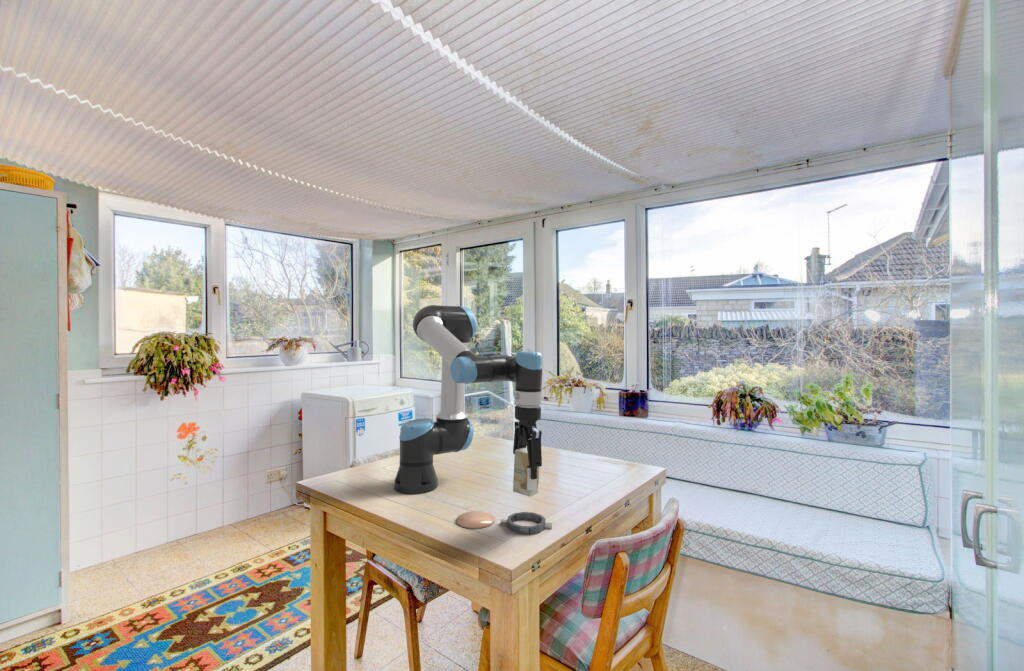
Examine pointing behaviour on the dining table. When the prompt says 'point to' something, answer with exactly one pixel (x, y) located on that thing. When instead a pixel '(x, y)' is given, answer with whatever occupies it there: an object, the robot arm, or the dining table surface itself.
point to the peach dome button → (475, 520)
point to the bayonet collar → (526, 529)
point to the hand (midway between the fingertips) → (526, 484)
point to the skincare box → (522, 473)
